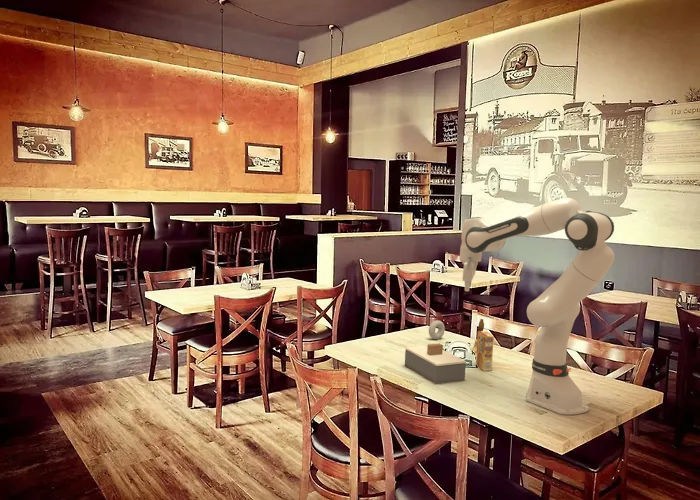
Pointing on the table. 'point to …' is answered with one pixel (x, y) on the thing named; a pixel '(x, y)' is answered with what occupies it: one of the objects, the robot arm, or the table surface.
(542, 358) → the robot arm
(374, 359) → the table surface
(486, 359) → the candy box
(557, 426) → the table surface
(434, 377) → the storage box
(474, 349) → the hand bell
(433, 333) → the donut
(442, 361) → the lid
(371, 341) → the table surface
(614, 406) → the table surface
